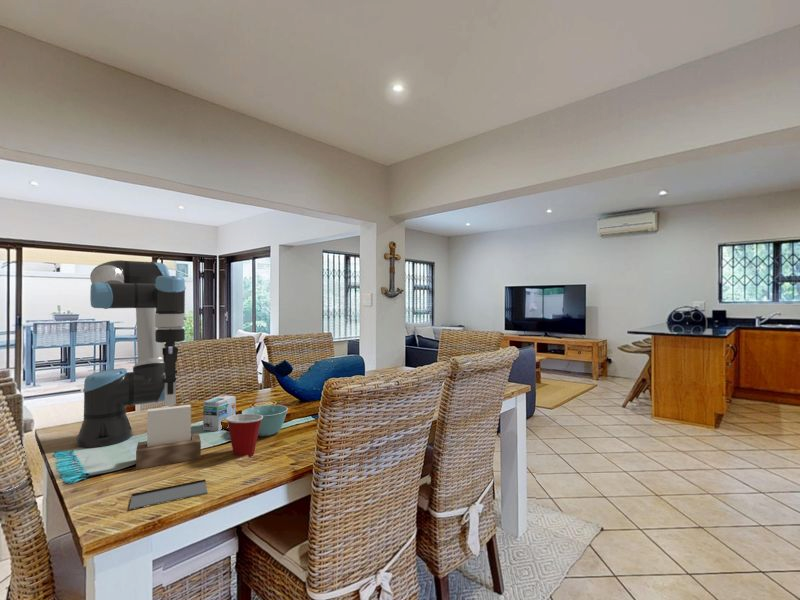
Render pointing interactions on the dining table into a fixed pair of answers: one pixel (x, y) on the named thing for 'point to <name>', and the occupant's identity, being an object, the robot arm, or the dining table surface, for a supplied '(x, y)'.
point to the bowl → (269, 418)
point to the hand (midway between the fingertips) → (170, 400)
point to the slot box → (168, 452)
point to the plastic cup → (244, 433)
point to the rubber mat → (168, 494)
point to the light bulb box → (217, 411)
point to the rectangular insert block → (168, 425)
